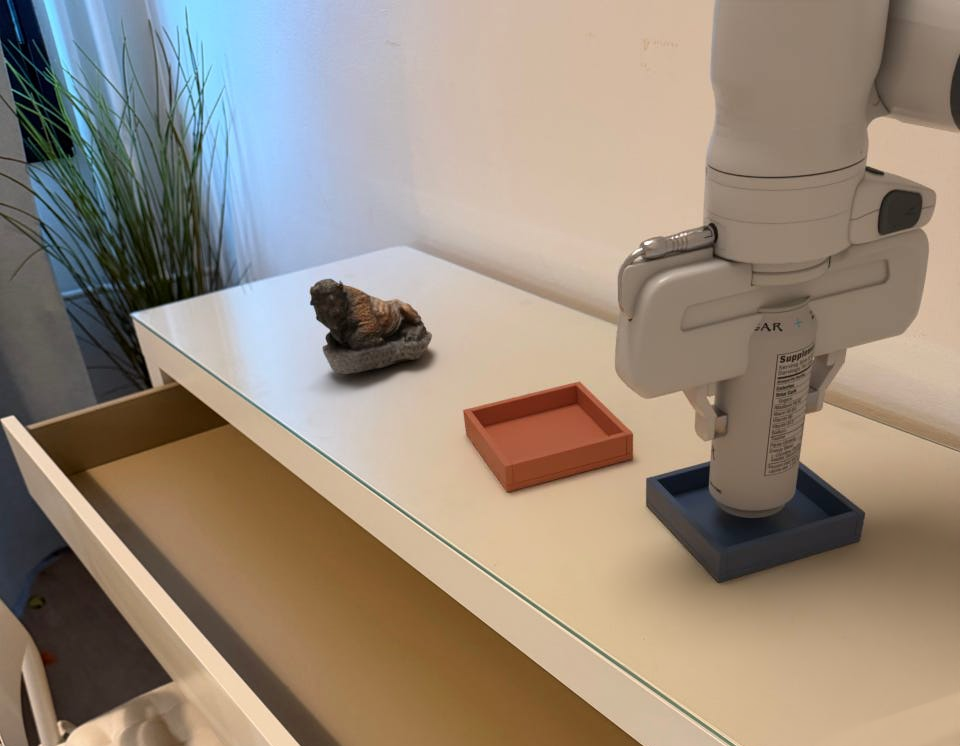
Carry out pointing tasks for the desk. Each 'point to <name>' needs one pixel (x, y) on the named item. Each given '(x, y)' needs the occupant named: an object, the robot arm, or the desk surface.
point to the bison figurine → (366, 328)
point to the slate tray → (752, 522)
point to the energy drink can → (765, 415)
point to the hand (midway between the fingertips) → (758, 422)
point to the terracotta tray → (547, 435)
